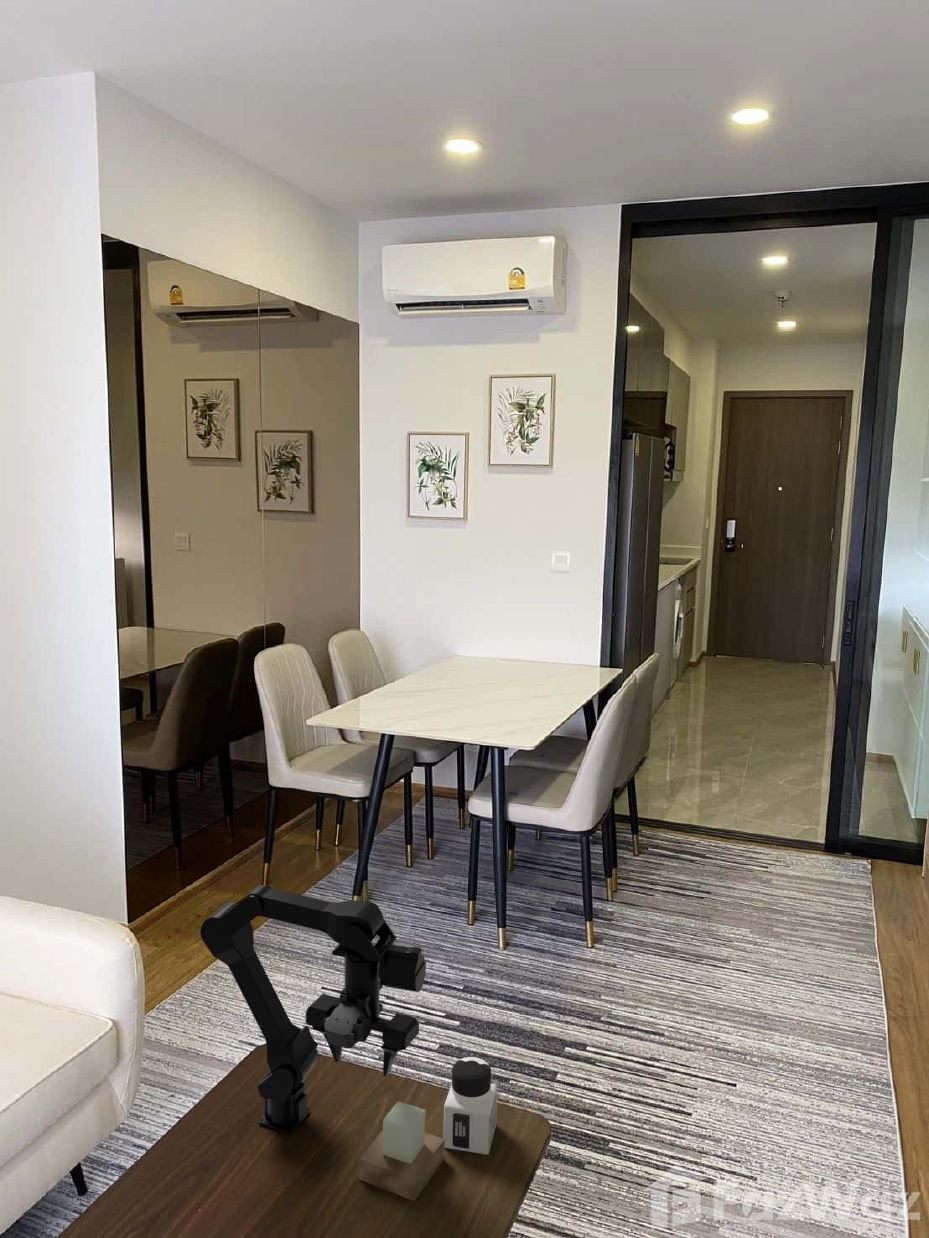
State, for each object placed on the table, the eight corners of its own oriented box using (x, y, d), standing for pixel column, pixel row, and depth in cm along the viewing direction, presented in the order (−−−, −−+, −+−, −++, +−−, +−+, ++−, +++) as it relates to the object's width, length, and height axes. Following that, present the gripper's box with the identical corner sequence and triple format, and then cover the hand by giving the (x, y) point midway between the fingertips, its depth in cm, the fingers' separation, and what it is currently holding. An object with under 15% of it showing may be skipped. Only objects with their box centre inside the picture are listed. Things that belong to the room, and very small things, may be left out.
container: (488, 1155, 151) (490, 1082, 150) (442, 1148, 153) (443, 1076, 151) (496, 1124, 159) (498, 1054, 157) (452, 1117, 160) (453, 1048, 159)
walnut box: (358, 1181, 146) (358, 1158, 145) (390, 1141, 155) (391, 1120, 154) (414, 1203, 142) (414, 1179, 141) (444, 1161, 150) (444, 1139, 150)
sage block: (382, 1154, 146) (383, 1119, 145) (397, 1134, 151) (397, 1101, 150) (410, 1164, 144) (411, 1128, 143) (424, 1143, 149) (425, 1109, 148)
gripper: (286, 991, 148) (287, 1081, 151) (389, 1019, 141) (388, 1112, 143) (323, 960, 159) (323, 1044, 161) (421, 984, 151) (420, 1072, 154)
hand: (361, 1068), depth 154 cm, fingers open, 9 cm apart
